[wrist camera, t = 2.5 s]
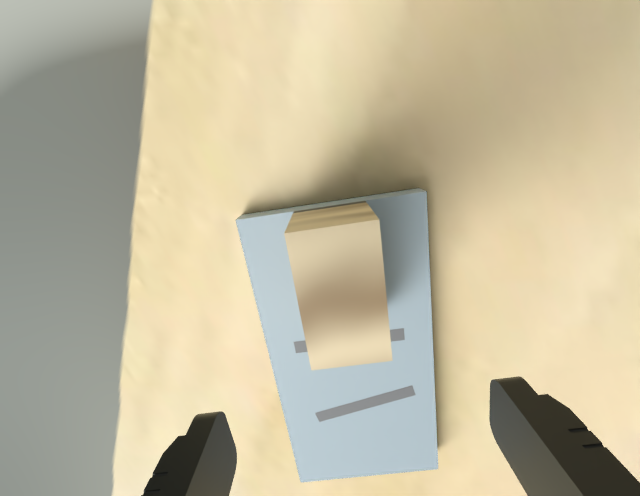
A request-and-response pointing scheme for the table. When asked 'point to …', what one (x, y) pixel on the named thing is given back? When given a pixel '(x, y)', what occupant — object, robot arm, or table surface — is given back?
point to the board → (359, 380)
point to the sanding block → (340, 284)
